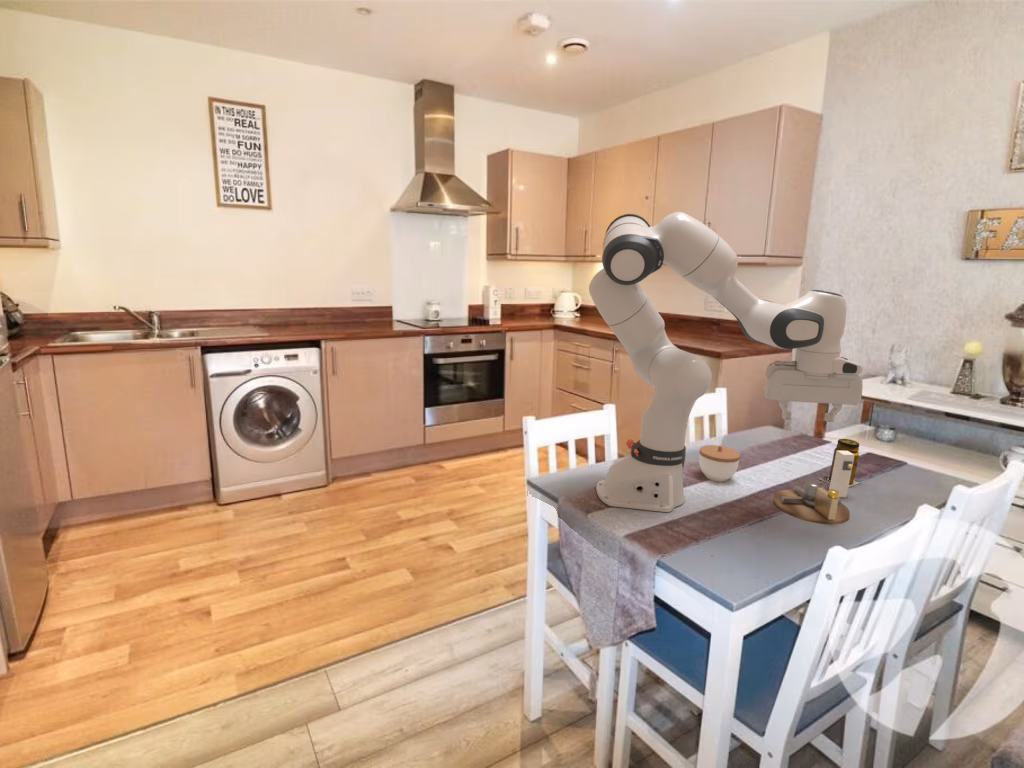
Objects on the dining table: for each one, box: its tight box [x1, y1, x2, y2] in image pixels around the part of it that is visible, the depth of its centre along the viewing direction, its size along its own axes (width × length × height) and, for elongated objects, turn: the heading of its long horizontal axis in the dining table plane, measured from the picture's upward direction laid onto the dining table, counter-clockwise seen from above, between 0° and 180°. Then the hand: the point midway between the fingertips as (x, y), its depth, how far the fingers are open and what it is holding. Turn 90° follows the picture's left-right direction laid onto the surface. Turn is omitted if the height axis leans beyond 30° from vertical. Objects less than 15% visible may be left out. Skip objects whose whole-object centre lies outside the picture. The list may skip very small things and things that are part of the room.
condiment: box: [818, 438, 860, 488], centre depth 154 cm, size 7×8×12 cm
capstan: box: [781, 479, 843, 519], centre depth 137 cm, size 15×16×7 cm
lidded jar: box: [698, 444, 741, 483], centre depth 154 cm, size 11×11×9 cm
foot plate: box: [772, 488, 850, 525], centre depth 139 cm, size 17×17×1 cm
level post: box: [828, 451, 855, 498], centre depth 145 cm, size 3×4×12 cm
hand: (807, 420), depth 128 cm, fingers open, 8 cm apart
